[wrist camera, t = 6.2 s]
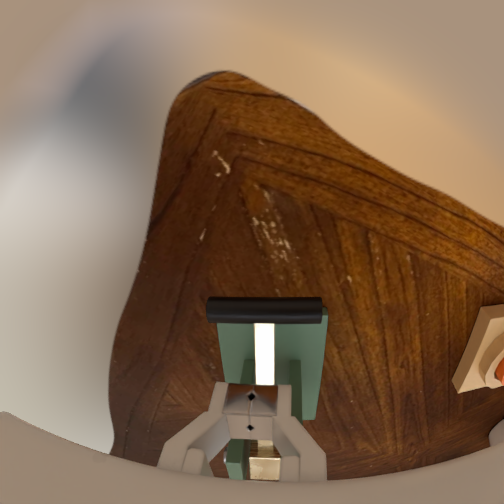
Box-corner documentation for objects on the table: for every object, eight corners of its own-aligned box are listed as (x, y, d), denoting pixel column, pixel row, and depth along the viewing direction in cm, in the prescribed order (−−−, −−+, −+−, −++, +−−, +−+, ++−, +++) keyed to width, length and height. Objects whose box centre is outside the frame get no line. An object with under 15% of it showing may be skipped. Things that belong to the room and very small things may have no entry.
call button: (480, 306, 23) (499, 330, 20) (534, 299, 22) (553, 318, 19) (451, 380, 27) (463, 404, 23) (504, 367, 26) (517, 388, 22)
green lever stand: (218, 306, 26) (179, 419, 15) (326, 306, 25) (346, 424, 14) (232, 410, 31) (214, 502, 20) (314, 411, 30) (317, 506, 19)
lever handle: (213, 290, 18) (202, 305, 15) (319, 290, 17) (324, 305, 15) (229, 455, 20) (224, 476, 18) (305, 457, 20) (306, 480, 17)
